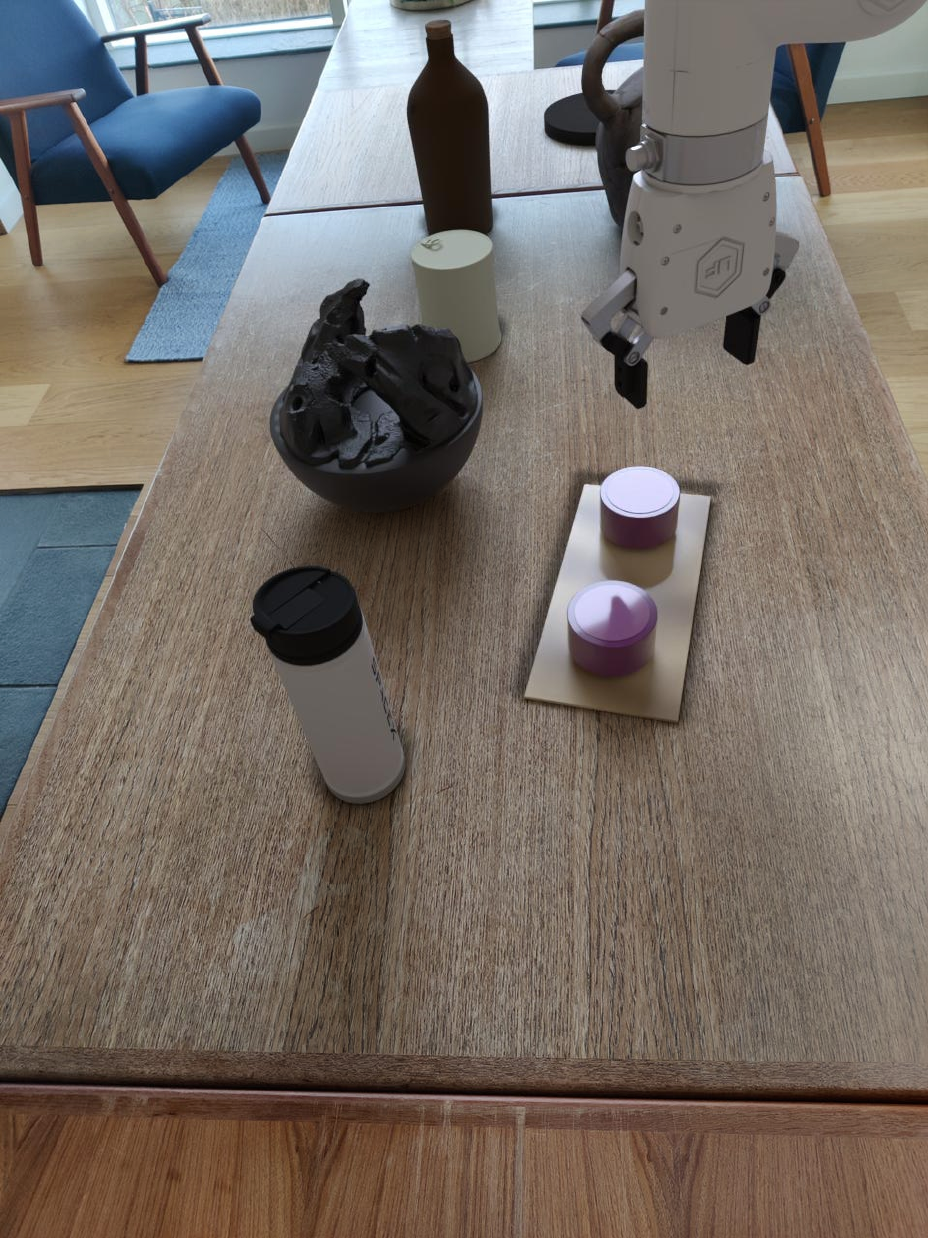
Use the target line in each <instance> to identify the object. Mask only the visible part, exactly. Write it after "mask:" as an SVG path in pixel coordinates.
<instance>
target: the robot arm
mask: <svg viewBox="0 0 928 1238" xmlns="http://www.w3.org/2000/svg"><path fill="white" fill-rule="evenodd" d="M927 2H928V0H644V9H645V12H644V36H643V59H642V60H643V62H642V63H643V64H642V67H643V104H642V125H641V126H640V142H639V143H638V144H637V145H636V146H635V147H632V148H629V149H628V150H627V152H626V163H627V166H628V168H629V170H630V171H632V172H634V171H637V170H640V169H641V171H639V172H637V173H636V174H634V176H633V180H632V184H631V188H630V193H629V198H628V203H627V208H626V214H625V221H624V227H623V230H622V236H621V243H620V244H621V245H620V246H621V247H620V258H619V273H618V274H619V277H618V278H617V279H616V280H615V281H613V283H612V284H610V285H609V286H608V287H607V288H606V289H605V290H604V291H603V292H602V293H601V294H600V295H599V296H598V297H597V298H595V299H594V300H593V301H592V302H591V303H590V304H589V305H587V306H586V307H585V309H583V311H582V312H581V315H580V319H581V321H582V323H583V324H584V325H585V327H586V329H587V330H588V332H589V333H590V335H591V336H592V339H593V340H594V341H595V342H596V343H597V344H599V345H600V346H601V347H602V348H603V349H604V350H605V351H607V352H608V353H610V354H611V355H613V357H614V358H613V359H614V361H613V362H614V363H613V364H614V365H613V367H614V374H613V376H614V379H613V380H614V381H613V382H614V383H613V384H614V389H615V391H616V393H617V394H618V395H619V396H620V397H621V398H624V399H625V400H626V401H627V402H628V403H630V404H631V406H633V407H634V408H635V409H636V410H642V409H643V408H645V407H646V405H647V403H648V380H649V379H648V374H649V364H648V361H647V360H646V359H645V358H643V356H644V355H645V354H646V351H647V350H648V349H649V347H650V345H651V344H652V342H653V341H654V339H655V340H656V339H657V340H665V339H670V338H672V337H676V336H678V335H681V334H684V333H687V332H690V331H692V330H695V329H697V328H700V327H703V326H705V325H708V324H710V323H712V322H716V321H717V320H720V319H723V318H725V320H724V321H725V322H724V331H723V332H724V333H723V341H722V349H723V350H724V351H725V352H727V353H728V354H730V355H731V356H732V357H733V358H735V359H736V360H737V361H739V362H740V363H741V364H743V365H745V366H748V365H751V364H754V363H755V362H756V355H757V348H758V342H759V341H758V340H759V333H760V328H761V327H760V326H761V318H762V316H764V315H765V314H767V312H769V310H770V309H771V305H772V301H771V299H772V297H773V296H774V294H775V293H776V292H777V291H778V290H779V288H780V287H781V286H782V284H783V283H784V281H785V280H786V278H787V273H786V271H787V269H789V268H790V266H791V263H792V261H793V260H794V258H795V256H796V254H797V252H798V250H799V248H800V241H799V240H798V239H796V238H794V237H793V236H790V235H789V234H788V233H784V232H779V231H777V215H778V214H777V210H778V209H777V208H778V207H777V206H778V204H777V203H778V202H777V183H776V180H777V179H776V174H775V163H774V156H773V155H772V153H770V152H769V151H768V150H766V149H765V144H766V136H767V135H766V134H767V127H768V121H769V120H768V119H769V109H770V103H771V95H772V86H773V80H774V79H773V78H774V70H775V63H776V55H777V54H776V53H777V48H778V47H781V46H783V45H797V44H829V43H830V44H833V43H848V42H856V41H862V40H867V39H871V38H875V37H877V36H879V35H883V34H884V33H888V32H889V31H891V30H893V29H895V28H897V27H899V26H900V25H901V24H903V23H904V22H906V21H907V20H908V19H910V18H911V17H912V16H914V15H915V14H916V13H917V12H919V10H920V9H921V8H922V7H923V6H924V5H925V4H926V3H927ZM620 311H621V313H622V314H623V315H622V316H621V318H620V320H619V321H618V323H617V324H616V325H615V328H614V329H613V328H612V325H611V322H612V320H613V318H614V317H615V316H616V315H617V314H619V313H620ZM637 326H639V327H640V328H639V329H638V331H637V332H636V334H635V335H634V337H633V339H632V340H631V341H629V338H630V337H631V336H632V334H633V332H634V331H635V329H636V328H637Z"/></svg>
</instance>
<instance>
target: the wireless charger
mask: <svg viewBox="0 0 928 1238" xmlns="http://www.w3.org/2000/svg"><path fill="white" fill-rule="evenodd" d="M605 90H606V91H607V92H608V93H609V94H613V93H614V92H615V91H616V90H617V89H605ZM543 123H544V124H543V125H544V127H543V128H544V133H545V134H546V136H547V137H549V138H550V139H552V140H554V141H556V142H559V143H562V144H565V145H570V146H578V147H596V144H595V138H596V133H597V129H598V126H599V124H600V121H599V120H598V119H597V118H596V117H595V116H594V114H593V113H592V112H591V111H590V109H589V108H588V106H587V104H586V101H585V99H584V97H583V93H582V92H579V93H573V94H570V95H567V96H565V97H562V98H560V99H558V100H556V101H554V102H553V103H551V104H550V105H549V106H548V107H547V108H546V109H545V110H544V113H543Z"/></svg>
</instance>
